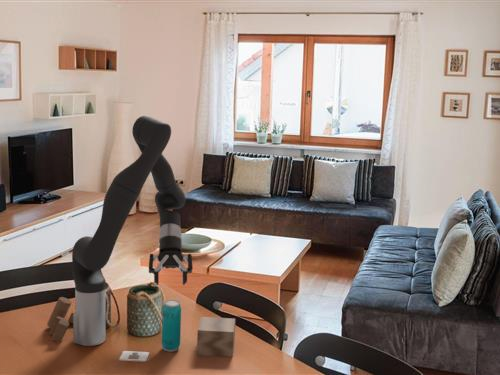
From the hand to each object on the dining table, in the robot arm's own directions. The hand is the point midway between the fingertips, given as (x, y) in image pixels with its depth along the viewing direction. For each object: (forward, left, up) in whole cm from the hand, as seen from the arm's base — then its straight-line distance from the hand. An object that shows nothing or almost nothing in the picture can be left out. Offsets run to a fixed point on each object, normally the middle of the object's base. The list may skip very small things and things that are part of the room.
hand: (170, 283), depth 215 cm
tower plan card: (-8, -18, -17) cm, 26 cm away
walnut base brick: (+16, -9, -17) cm, 25 cm away
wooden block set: (-35, -2, -18) cm, 40 cm away
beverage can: (+2, -11, -18) cm, 21 cm away
